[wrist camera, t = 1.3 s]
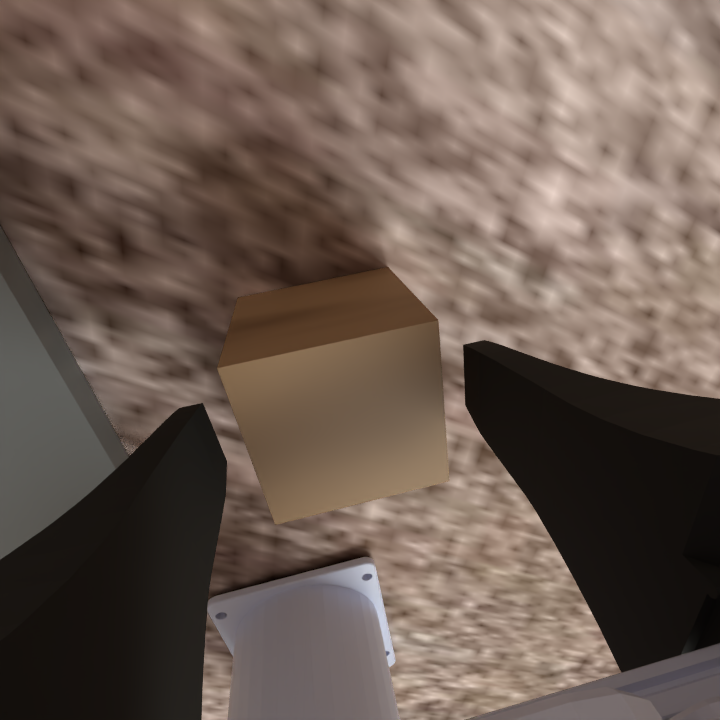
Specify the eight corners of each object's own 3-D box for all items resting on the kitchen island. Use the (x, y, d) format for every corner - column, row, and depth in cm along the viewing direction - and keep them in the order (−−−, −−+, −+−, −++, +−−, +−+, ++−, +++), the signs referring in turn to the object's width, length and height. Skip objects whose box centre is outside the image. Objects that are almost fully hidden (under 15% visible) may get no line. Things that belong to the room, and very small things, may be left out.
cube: (402, 391, 16) (449, 481, 12) (276, 420, 16) (275, 524, 11) (387, 266, 14) (438, 319, 9) (238, 297, 13) (217, 368, 9)
